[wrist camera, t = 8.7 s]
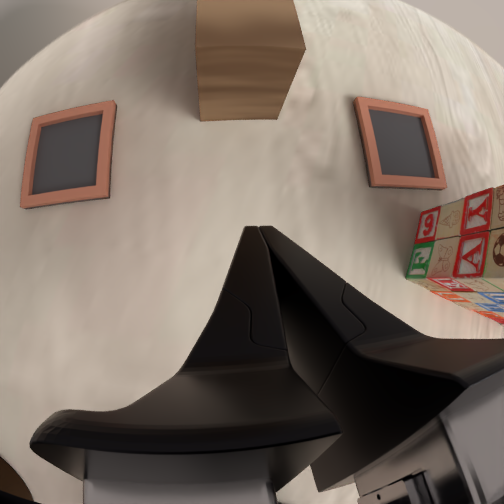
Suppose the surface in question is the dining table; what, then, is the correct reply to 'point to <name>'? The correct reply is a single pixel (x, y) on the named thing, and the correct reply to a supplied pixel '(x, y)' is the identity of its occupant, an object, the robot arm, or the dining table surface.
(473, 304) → the stack of blocks
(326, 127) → the dining table surface
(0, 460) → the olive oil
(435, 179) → the tile
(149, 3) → the dining table surface
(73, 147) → the tile
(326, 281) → the robot arm
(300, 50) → the walnut brick
